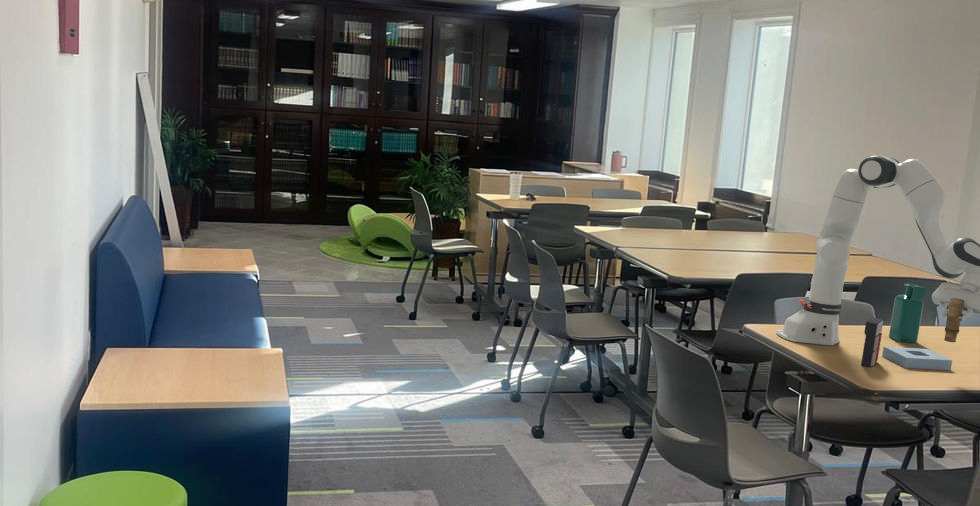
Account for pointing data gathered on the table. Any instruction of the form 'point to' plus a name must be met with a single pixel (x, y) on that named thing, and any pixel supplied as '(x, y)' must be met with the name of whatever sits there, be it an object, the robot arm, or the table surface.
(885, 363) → the table surface
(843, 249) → the robot arm
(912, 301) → the teal bottle
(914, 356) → the seat board
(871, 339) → the calculator
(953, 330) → the peg
